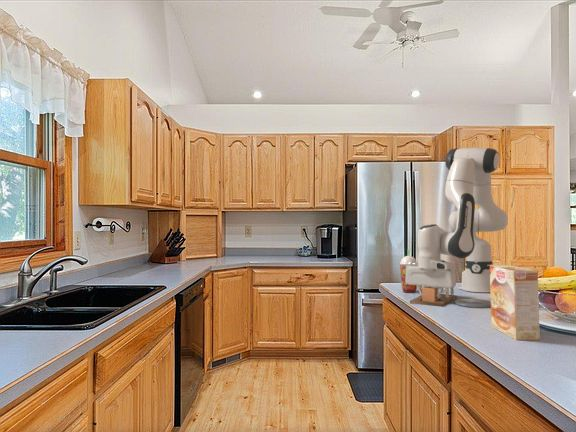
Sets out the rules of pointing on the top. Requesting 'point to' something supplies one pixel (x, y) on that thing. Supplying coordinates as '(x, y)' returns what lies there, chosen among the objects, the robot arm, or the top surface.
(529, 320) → the coffeecake box
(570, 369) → the top surface
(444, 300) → the puzzle board
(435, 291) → the block
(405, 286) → the smoothie
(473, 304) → the saucer
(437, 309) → the top surface
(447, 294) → the cover
